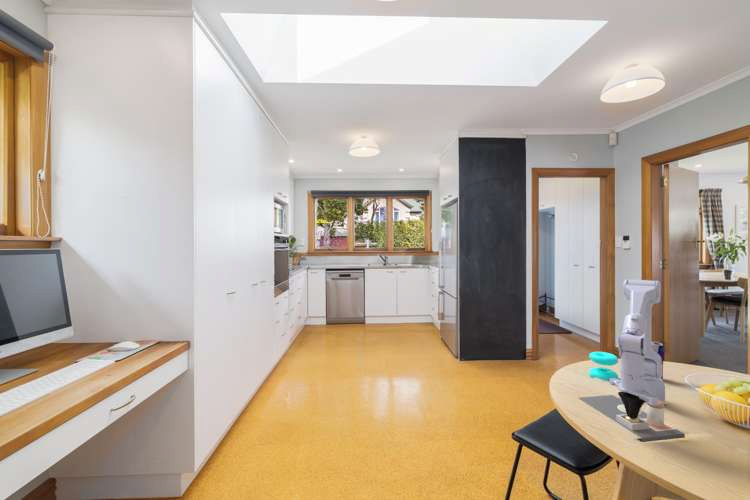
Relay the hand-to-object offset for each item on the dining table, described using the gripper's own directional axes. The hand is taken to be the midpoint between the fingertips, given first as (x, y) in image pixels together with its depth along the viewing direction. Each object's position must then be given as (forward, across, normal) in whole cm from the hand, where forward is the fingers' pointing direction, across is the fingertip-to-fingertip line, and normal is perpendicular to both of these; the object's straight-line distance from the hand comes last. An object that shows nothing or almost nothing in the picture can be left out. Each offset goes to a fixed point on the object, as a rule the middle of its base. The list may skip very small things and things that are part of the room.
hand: (632, 417), depth 102 cm
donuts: (+4, -35, +22) cm, 41 cm away
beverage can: (+4, -31, +42) cm, 52 cm away
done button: (+2, 0, 0) cm, 2 cm away
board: (+3, -6, +4) cm, 8 cm away
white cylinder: (+2, +1, +7) cm, 7 cm away
